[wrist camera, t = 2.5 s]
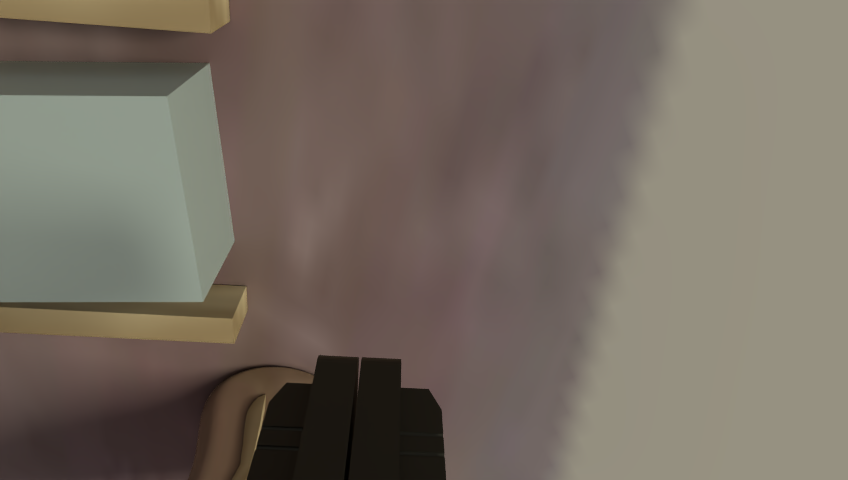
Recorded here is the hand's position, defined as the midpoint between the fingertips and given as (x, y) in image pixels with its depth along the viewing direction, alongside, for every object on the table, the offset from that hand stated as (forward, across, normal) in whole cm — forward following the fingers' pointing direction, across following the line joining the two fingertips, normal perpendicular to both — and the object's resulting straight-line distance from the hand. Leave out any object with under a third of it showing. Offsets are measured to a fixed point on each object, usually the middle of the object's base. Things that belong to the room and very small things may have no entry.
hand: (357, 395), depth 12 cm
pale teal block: (+10, +9, 0) cm, 14 cm away
